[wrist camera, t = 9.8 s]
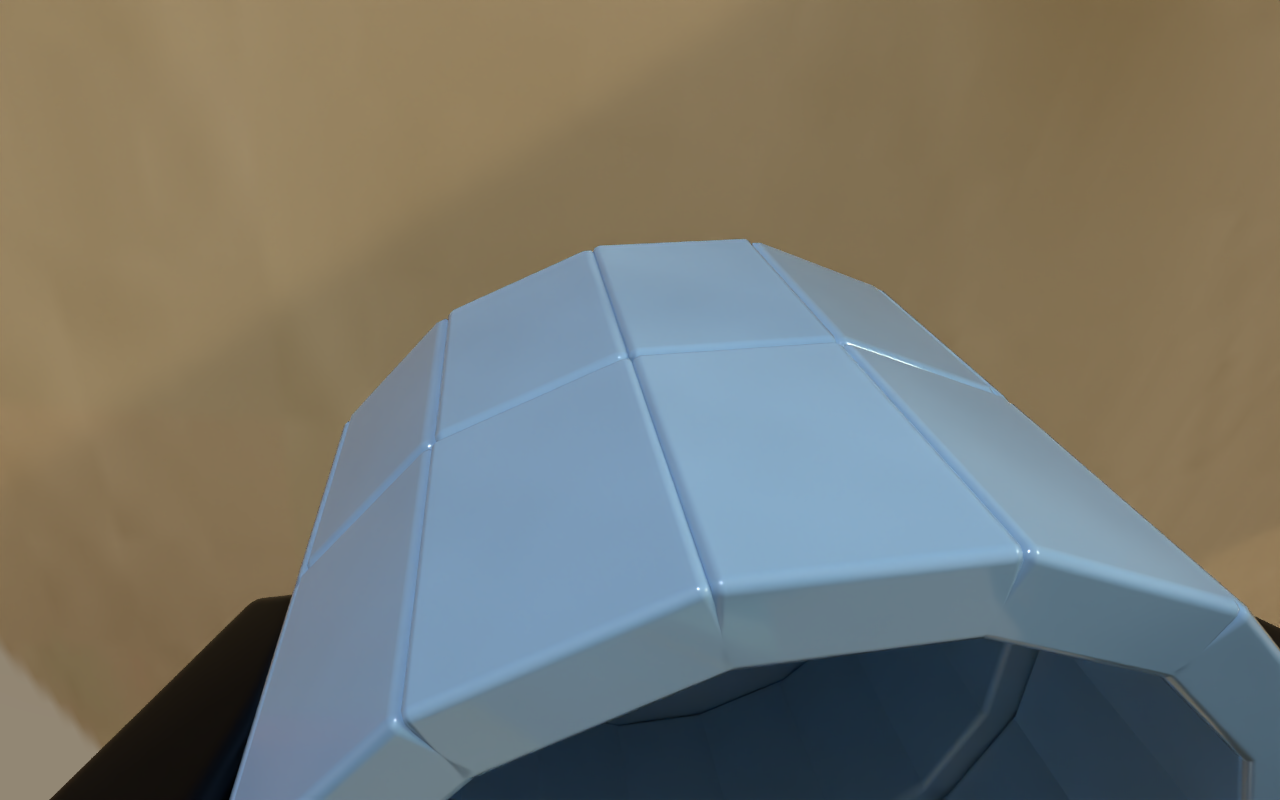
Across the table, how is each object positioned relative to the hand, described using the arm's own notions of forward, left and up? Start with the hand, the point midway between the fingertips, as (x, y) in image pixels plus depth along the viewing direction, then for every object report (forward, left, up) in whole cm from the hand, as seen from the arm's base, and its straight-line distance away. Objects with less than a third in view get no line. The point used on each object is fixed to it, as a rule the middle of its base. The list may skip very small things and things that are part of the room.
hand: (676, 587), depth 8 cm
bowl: (0, 0, -1) cm, 1 cm away
